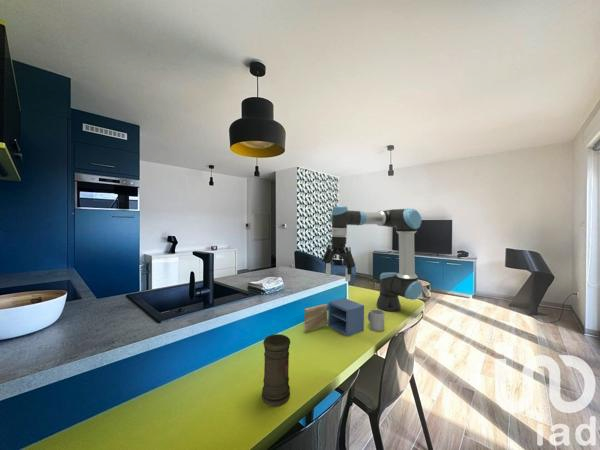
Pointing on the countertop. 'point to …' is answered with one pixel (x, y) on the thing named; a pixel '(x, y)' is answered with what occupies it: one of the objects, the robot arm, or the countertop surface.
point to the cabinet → (346, 316)
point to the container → (276, 370)
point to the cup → (376, 320)
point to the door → (315, 317)
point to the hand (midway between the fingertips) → (337, 278)
